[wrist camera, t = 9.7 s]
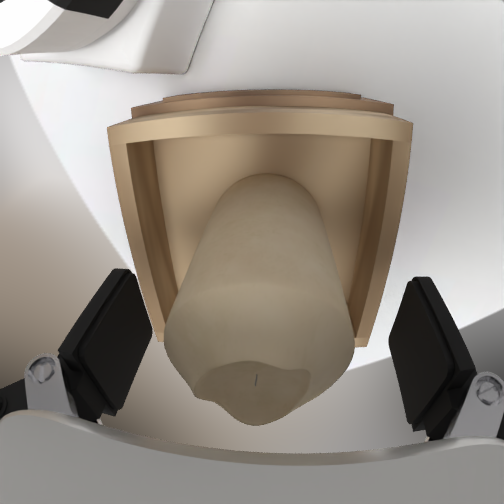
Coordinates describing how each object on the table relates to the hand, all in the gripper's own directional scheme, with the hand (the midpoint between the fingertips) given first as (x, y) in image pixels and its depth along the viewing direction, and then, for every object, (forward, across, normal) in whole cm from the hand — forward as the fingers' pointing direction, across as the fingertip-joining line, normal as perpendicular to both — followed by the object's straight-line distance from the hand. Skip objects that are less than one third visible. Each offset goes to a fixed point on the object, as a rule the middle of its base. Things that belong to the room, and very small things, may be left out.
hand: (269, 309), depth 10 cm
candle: (+7, 0, 0) cm, 7 cm away
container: (+12, +8, -13) cm, 19 cm away
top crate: (+7, +1, 0) cm, 7 cm away
